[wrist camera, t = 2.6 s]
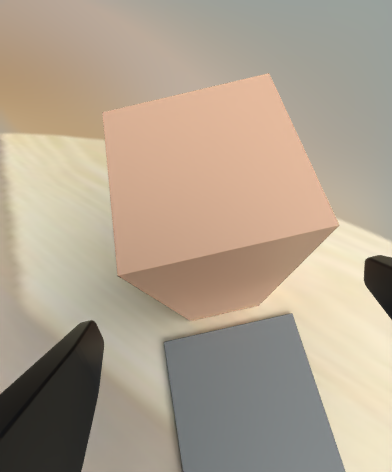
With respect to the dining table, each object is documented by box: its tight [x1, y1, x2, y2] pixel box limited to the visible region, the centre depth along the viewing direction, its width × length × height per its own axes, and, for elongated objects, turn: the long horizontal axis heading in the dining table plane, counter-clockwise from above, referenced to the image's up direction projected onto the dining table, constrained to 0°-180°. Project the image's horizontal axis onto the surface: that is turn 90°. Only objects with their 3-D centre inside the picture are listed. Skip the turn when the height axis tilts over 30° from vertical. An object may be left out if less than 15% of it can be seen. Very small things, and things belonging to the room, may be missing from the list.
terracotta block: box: [103, 73, 339, 321], centre depth 13 cm, size 5×5×14 cm
